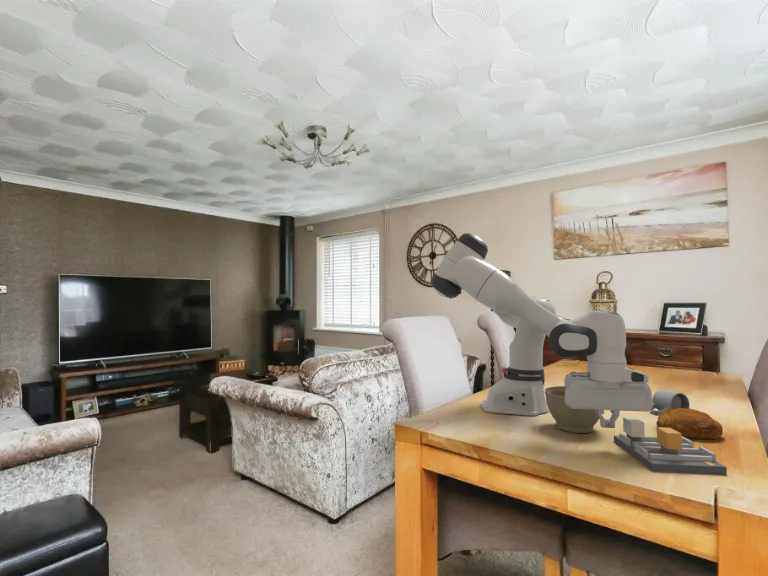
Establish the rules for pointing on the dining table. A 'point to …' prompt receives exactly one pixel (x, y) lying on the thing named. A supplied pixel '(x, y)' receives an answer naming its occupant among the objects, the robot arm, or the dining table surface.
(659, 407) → the ceramic mug
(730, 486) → the dining table surface
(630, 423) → the white fader
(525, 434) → the dining table surface
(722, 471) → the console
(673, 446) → the orange fader
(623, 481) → the dining table surface
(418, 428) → the dining table surface
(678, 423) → the croissant
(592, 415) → the planter bowl
